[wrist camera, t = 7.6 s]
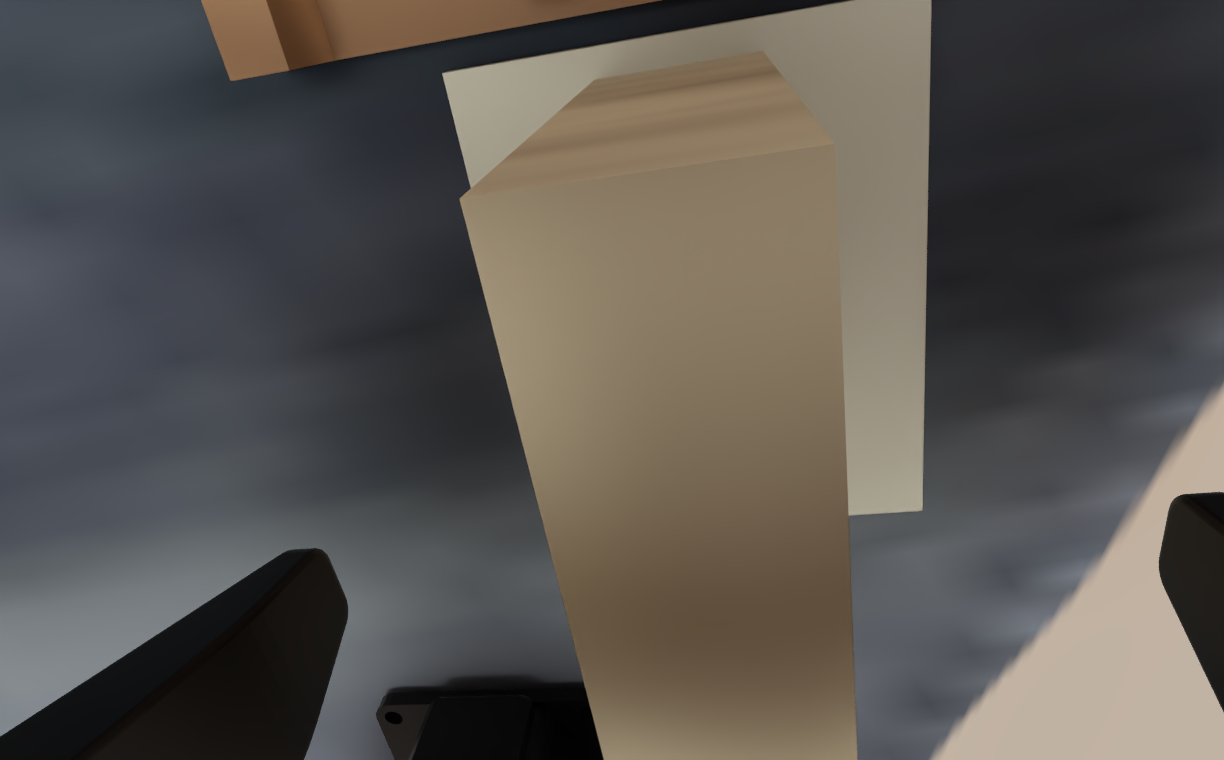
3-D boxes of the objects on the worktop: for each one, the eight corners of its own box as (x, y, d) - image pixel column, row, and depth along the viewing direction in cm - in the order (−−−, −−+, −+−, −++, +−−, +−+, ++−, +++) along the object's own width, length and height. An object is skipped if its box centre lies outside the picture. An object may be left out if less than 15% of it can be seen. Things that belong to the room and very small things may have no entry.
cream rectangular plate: (917, 499, 17) (922, 510, 16) (560, 523, 18) (556, 533, 18) (924, -14, 12) (931, -14, 12) (448, 70, 13) (442, 73, 13)
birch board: (795, 500, 16) (861, 892, 9) (666, 508, 17) (636, 887, 10) (762, 50, 12) (835, 142, 5) (594, 78, 13) (459, 198, 6)
